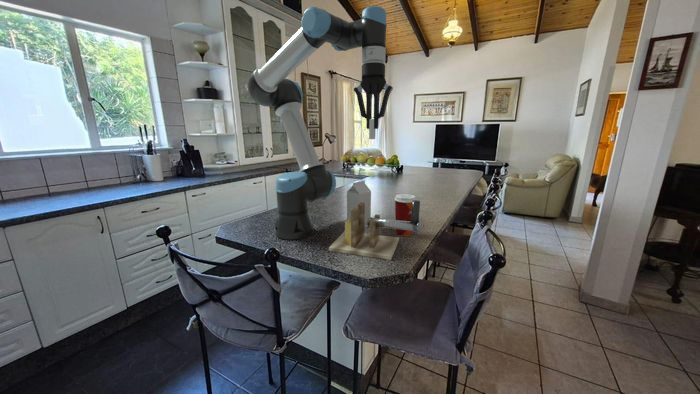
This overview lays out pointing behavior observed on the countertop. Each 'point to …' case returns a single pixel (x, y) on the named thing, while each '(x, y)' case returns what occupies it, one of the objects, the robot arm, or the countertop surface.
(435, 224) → the countertop surface
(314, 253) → the countertop surface
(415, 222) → the silver bent bar
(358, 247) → the wooden stand with blocks
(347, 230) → the spacer
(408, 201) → the coffee cup
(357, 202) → the milk carton
